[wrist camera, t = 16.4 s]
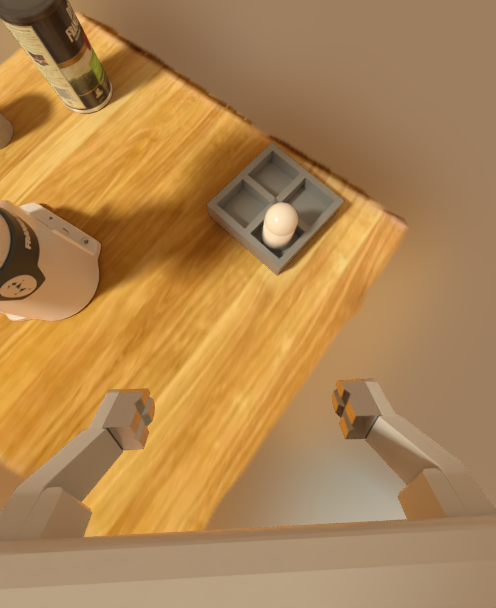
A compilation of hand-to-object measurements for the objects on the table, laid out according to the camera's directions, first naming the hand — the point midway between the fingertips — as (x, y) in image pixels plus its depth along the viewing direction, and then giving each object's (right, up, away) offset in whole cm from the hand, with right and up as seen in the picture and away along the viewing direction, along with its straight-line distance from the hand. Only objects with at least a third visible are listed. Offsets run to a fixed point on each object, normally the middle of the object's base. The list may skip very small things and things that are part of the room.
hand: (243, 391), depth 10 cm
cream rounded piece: (+5, +15, +31) cm, 35 cm away
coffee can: (-32, +46, +37) cm, 68 cm away
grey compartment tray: (+5, +21, +33) cm, 39 cm away
